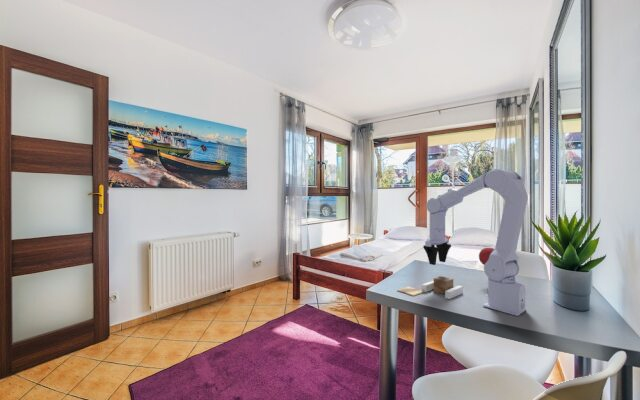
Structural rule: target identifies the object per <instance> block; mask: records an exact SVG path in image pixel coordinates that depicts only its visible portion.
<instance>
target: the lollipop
mask: <svg viewBox="0 0 640 400" xmlns="http://www.w3.org/2000/svg"><path fill="white" fill-rule="evenodd" d="M494 249H495V248H493V247H484V248H482V249H480V252H479V253H478V259H479V262H480V263H481V264H482V265H483V266H484V265H485V263H486V262H487V261H488V260H489V256H490V254H491V253H492V252H493V251H494Z"/></svg>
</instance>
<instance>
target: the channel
mask: <svg viewBox="0 0 640 400" xmlns="http://www.w3.org/2000/svg"><path fill="white" fill-rule="evenodd" d="M453 287H454V288H451V289H449V290H446V291H445V294H444V295H445V296H444V299H448V300H451V299H453V298H456V297H458V296H459V295H462V294H464V287H463V286H462V285H456V286H453ZM432 289H433V290H434V280H431V281H428V282H425V283H422V284H421V290H422V291H424V293H427V292H429V291H430V292H431V291H433V290H432Z"/></svg>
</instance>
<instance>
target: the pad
mask: <svg viewBox="0 0 640 400" xmlns="http://www.w3.org/2000/svg"><path fill="white" fill-rule="evenodd" d="M396 291H397V292H399V293H403V294H406V295H409V296H411V297H415V296H417V295H420V294H423V292H424V291H422V289H418V288H415V287H412V286H404V287H402V288H398V289H397V290H396ZM424 293H425V292H424Z"/></svg>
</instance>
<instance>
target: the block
mask: <svg viewBox="0 0 640 400" xmlns="http://www.w3.org/2000/svg"><path fill="white" fill-rule="evenodd" d="M433 281H434V289H433V292H434V291H435V292H434V293H438V294H441V295H445V291H446V290H449V289H451V288H453V287H454V278H449V277H447V276H441V275H439V276H436V277H434V278H433Z"/></svg>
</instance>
